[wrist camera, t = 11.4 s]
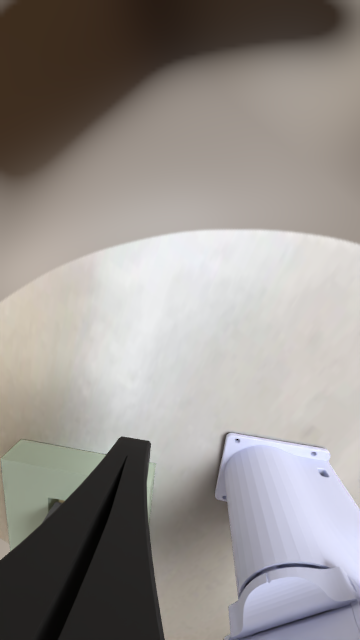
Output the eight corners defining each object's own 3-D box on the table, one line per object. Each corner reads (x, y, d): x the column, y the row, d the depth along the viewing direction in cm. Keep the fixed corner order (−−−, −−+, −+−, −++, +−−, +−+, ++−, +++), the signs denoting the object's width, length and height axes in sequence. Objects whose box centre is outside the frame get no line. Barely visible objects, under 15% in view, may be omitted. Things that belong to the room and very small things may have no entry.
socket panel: (155, 463, 22) (148, 495, 19) (146, 550, 25) (138, 589, 22) (21, 439, 23) (-7, 465, 20) (27, 525, 26) (4, 560, 23)
